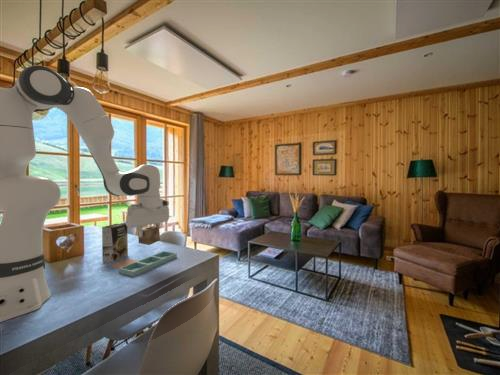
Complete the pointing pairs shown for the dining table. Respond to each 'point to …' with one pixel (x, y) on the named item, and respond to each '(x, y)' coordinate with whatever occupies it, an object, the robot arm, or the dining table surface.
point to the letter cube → (149, 235)
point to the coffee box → (114, 242)
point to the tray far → (166, 255)
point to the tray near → (134, 269)
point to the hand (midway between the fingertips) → (148, 234)
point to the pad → (124, 263)
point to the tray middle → (152, 261)
